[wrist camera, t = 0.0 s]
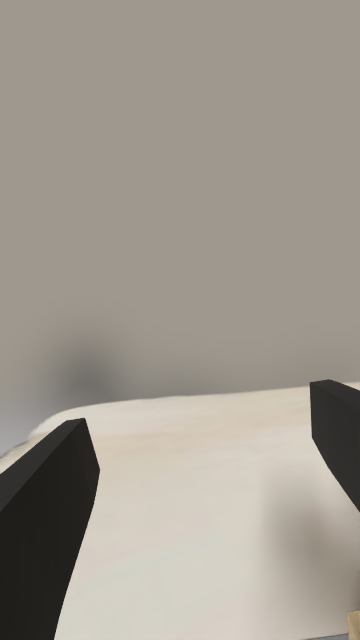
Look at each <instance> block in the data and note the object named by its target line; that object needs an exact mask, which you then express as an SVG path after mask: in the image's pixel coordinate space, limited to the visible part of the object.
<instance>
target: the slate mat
mask: <svg viewBox="0 0 360 640" xmlns="http://www.w3.org/2000/svg"><path fill="white" fill-rule="evenodd" d="M312 640H349V634H347V635H340V636H333V637H326V638H319V639H312Z"/></svg>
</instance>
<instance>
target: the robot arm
mask: <svg viewBox="0 0 360 640" xmlns="http://www.w3.org/2000/svg"><path fill="white" fill-rule="evenodd" d="M310 402H311V426H312V438H313V440H314V442H315V444H316V446H317V448H318V450H319V452H320V454H321V455H322V457H323V459H324V461H325V463H326V464H327V466H328V468H329V469H330V471H331V472H332V474H333V475H334V477H335V478H336V479H337V481H338V482H339V484H340V485H341V487H342V488H343V489H344V491H345V492H346V494H347V495H348V497H349V498H350V499H351V501H352V502H353V504H354V505H355V506H356V508H357V509H358V511H359V512H360V391H359V390H357V389H354V388H352V387H349V386H347V385H344V384H341V383H339V382H335V381H333V380H322V381H316V382H310ZM99 474H100V468H99V464H98V461H97V457H96V454H95V451H94V447H93V444H92V440H91V437H90V433H89V430H88V426H87V423H86V420H85V418H80V419H74V420H67V421H65V422H64V423H62V424H61V425H60V426H58V427H57V428H56V429H54V430H53V431H52V432H51V433H49V434H48V435H47V436H46V437H45V438H43V439H42V440H41V441H40V442H39V443H37V444H36V445H35V446H34V447H33V448H32V449H30V450H29V451H28V452H27V453H26V454H24V455H23V456H22V457H21V458H20V459H18V460H17V461H16V462H15V463H14V464H12V465H11V466H10V467H9V468H8V469H6V470H5V471H4V472H3V473H1V474H0V640H54V637H55V633H56V629H57V624H58V620H59V616H60V613H61V609H62V605H63V602H64V598H65V595H66V591H67V588H68V585H69V582H70V579H71V576H72V572H73V569H74V566H75V563H76V560H77V557H78V553H79V550H80V547H81V544H82V541H83V538H84V534H85V531H86V528H87V525H88V521H89V518H90V515H91V512H92V508H93V505H94V501H95V496H96V491H97V485H98V479H99Z"/></svg>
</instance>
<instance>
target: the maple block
mask: <svg viewBox="0 0 360 640" xmlns="http://www.w3.org/2000/svg"><path fill="white" fill-rule="evenodd" d="M347 617H348V632H349V640H360V611H354V612H347Z"/></svg>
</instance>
